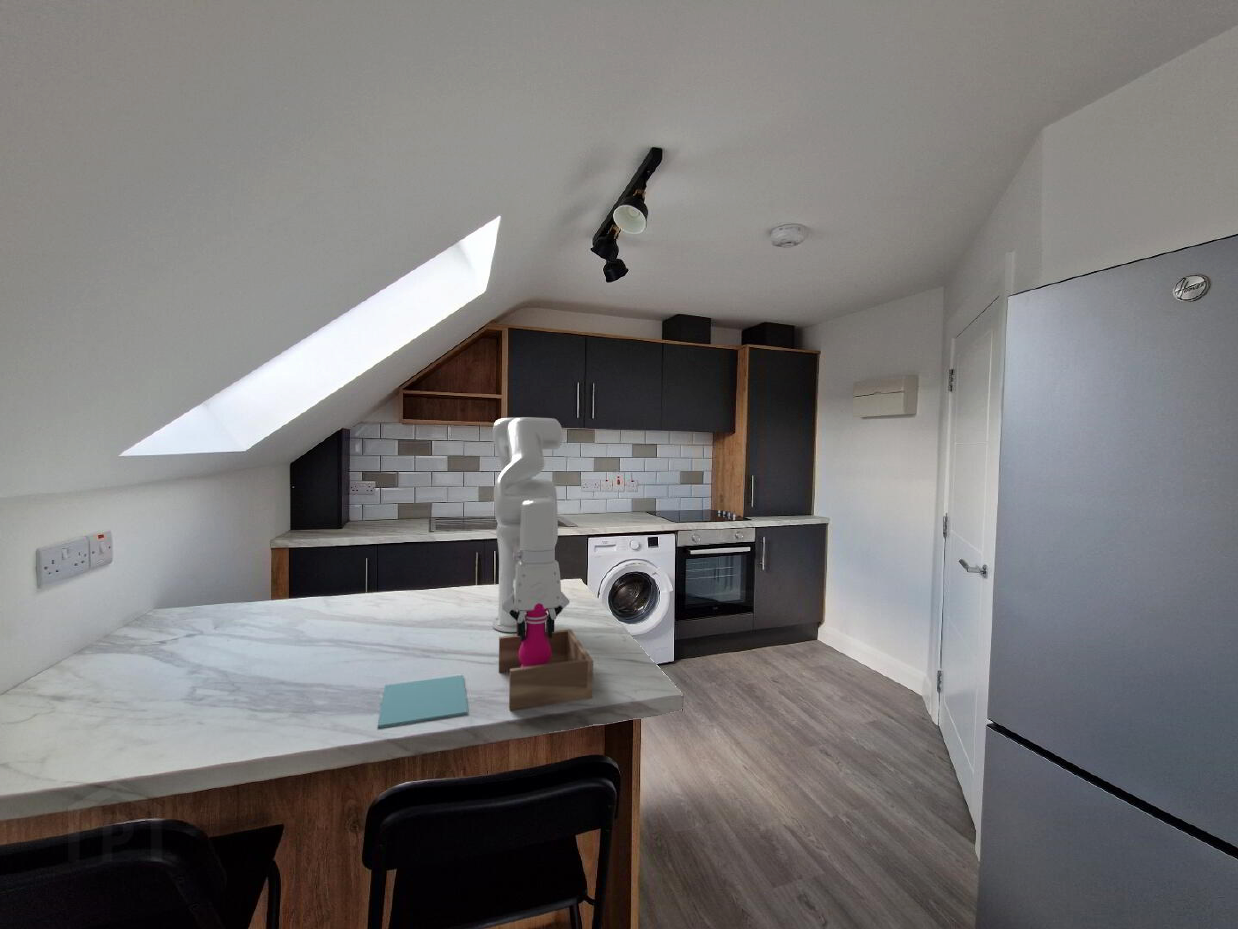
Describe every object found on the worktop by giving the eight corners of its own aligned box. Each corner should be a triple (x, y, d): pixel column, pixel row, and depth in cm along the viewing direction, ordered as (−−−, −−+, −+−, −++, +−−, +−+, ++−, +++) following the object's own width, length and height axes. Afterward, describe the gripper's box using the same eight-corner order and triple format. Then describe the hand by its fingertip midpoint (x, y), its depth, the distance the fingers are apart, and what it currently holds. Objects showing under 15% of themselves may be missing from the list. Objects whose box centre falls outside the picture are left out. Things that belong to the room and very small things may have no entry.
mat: (385, 687, 108) (385, 685, 108) (463, 677, 114) (463, 675, 114) (377, 728, 93) (377, 725, 93) (467, 714, 99) (467, 711, 99)
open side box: (498, 670, 117) (499, 636, 117) (570, 661, 123) (570, 629, 123) (509, 710, 100) (510, 671, 100) (592, 697, 106) (593, 660, 106)
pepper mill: (556, 669, 114) (558, 582, 113) (541, 684, 107) (543, 591, 106) (528, 664, 116) (530, 578, 115) (511, 678, 109) (513, 587, 108)
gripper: (499, 562, 103) (498, 648, 104) (579, 557, 109) (577, 639, 110) (495, 554, 110) (493, 635, 111) (570, 550, 116) (568, 627, 117)
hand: (535, 636), depth 111 cm, fingers closed on pepper mill, 5 cm apart
